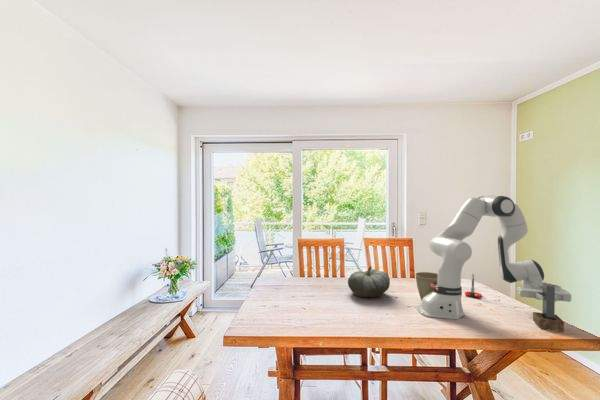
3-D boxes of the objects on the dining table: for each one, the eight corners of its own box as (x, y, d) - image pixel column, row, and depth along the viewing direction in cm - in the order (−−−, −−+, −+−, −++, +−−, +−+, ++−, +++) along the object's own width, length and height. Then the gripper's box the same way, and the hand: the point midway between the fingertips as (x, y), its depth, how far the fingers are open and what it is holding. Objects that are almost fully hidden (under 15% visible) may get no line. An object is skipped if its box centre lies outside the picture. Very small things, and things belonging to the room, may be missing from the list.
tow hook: (465, 292, 192) (463, 296, 184) (466, 270, 192) (464, 273, 184) (482, 295, 187) (481, 299, 179) (482, 272, 187) (481, 275, 179)
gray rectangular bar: (546, 320, 140) (546, 286, 140) (542, 316, 145) (542, 283, 144) (554, 321, 139) (554, 286, 139) (550, 317, 144) (550, 283, 143)
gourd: (400, 294, 179) (394, 265, 179) (365, 307, 170) (359, 276, 170) (375, 286, 202) (370, 261, 202) (343, 297, 193) (338, 270, 193)
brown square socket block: (539, 328, 139) (539, 318, 139) (533, 321, 148) (533, 311, 148) (564, 332, 136) (564, 322, 136) (556, 324, 144) (556, 314, 144)
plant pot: (447, 309, 163) (447, 279, 163) (417, 307, 166) (417, 278, 166) (440, 299, 178) (440, 272, 177) (413, 297, 181) (413, 271, 180)
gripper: (514, 281, 158) (522, 289, 145) (564, 286, 150) (576, 294, 137) (514, 293, 158) (522, 302, 145) (563, 298, 150) (576, 308, 137)
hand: (549, 299), depth 141 cm, fingers closed on gray rectangular bar, 3 cm apart
